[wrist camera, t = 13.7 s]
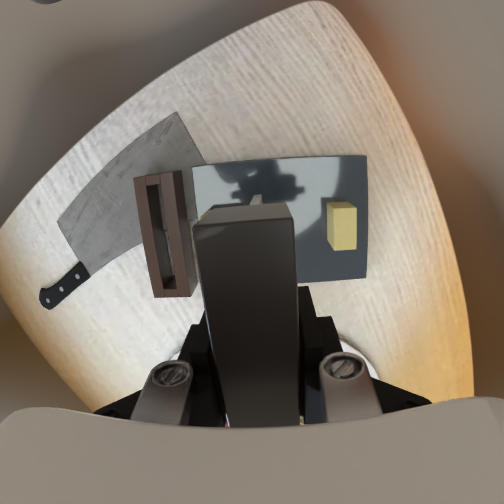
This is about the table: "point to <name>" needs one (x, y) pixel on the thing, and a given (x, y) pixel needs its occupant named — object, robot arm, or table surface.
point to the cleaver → (121, 203)
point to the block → (155, 234)
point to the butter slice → (341, 225)
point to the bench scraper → (252, 310)
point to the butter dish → (297, 204)
